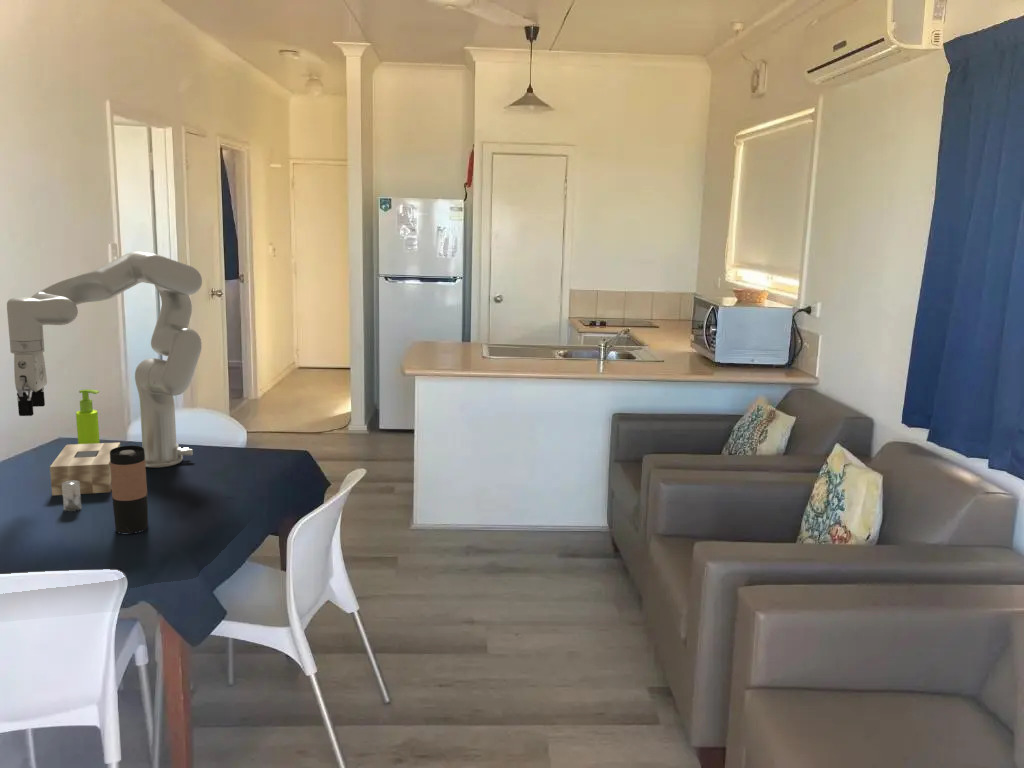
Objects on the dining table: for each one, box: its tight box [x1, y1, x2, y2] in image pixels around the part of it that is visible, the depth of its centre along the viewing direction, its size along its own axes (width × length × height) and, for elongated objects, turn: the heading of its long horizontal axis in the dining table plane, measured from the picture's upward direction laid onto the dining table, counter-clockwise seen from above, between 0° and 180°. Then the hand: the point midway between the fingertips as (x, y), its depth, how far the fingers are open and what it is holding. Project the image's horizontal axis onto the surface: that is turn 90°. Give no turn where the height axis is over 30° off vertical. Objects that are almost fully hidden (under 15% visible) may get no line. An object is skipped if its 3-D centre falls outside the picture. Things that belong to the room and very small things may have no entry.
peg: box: [62, 480, 82, 512], centre depth 207 cm, size 4×4×7 cm
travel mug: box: [110, 445, 149, 534], centre depth 195 cm, size 8×8×20 cm
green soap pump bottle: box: [75, 388, 101, 444], centre depth 249 cm, size 6×7×20 cm
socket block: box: [49, 442, 121, 496], centre depth 226 cm, size 14×20×8 cm
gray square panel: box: [75, 451, 98, 458], centre depth 225 cm, size 5×5×1 cm
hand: (32, 410), depth 211 cm, fingers open, 9 cm apart
